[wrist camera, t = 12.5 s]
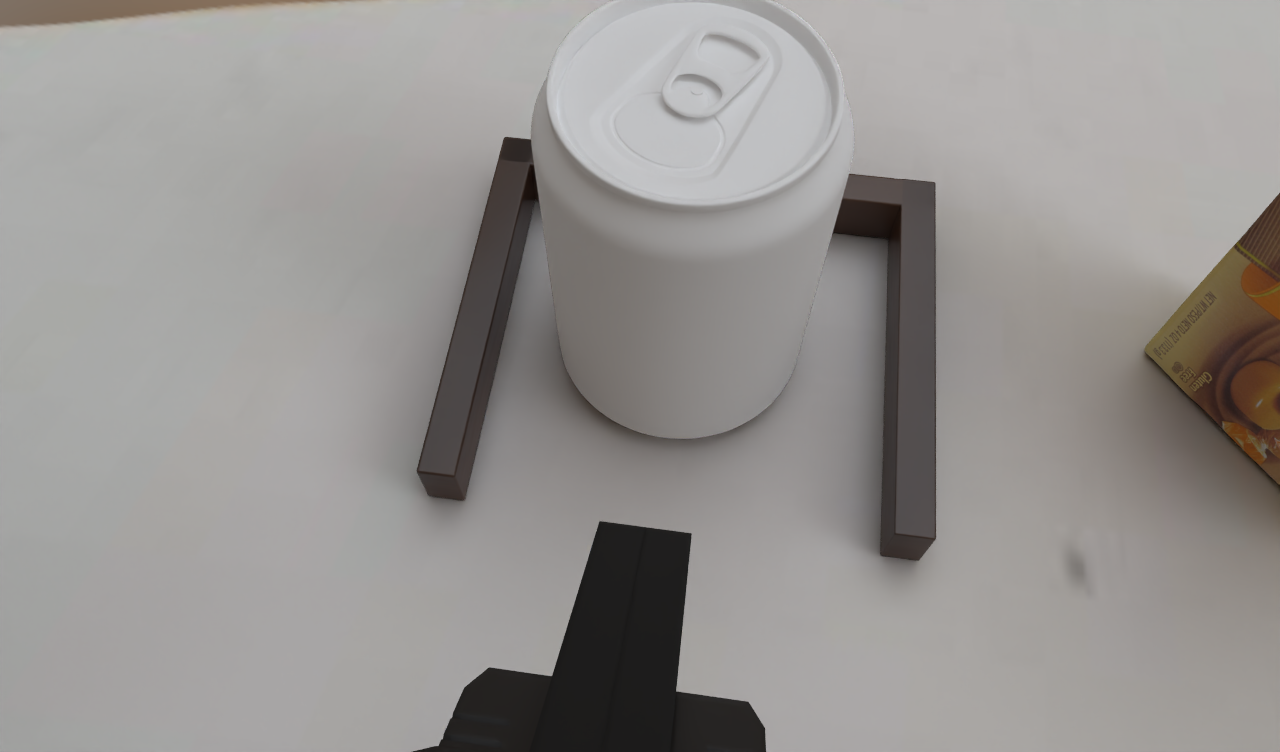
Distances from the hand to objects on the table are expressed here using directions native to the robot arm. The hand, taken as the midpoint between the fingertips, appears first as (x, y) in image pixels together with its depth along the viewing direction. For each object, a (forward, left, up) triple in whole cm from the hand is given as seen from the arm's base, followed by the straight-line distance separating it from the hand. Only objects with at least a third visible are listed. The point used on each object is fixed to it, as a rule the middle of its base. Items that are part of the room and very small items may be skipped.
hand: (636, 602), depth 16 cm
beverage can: (-3, +13, -14) cm, 19 cm away
